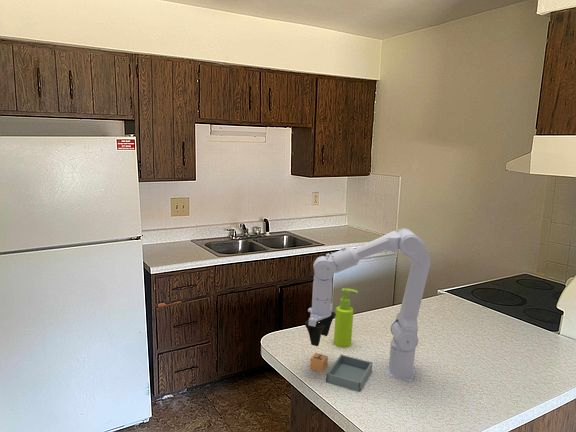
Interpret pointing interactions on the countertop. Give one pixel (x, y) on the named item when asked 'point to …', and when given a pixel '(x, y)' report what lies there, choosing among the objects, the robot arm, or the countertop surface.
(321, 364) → the letter cube
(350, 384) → the bin
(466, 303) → the countertop surface
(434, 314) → the countertop surface
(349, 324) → the soap dispenser
